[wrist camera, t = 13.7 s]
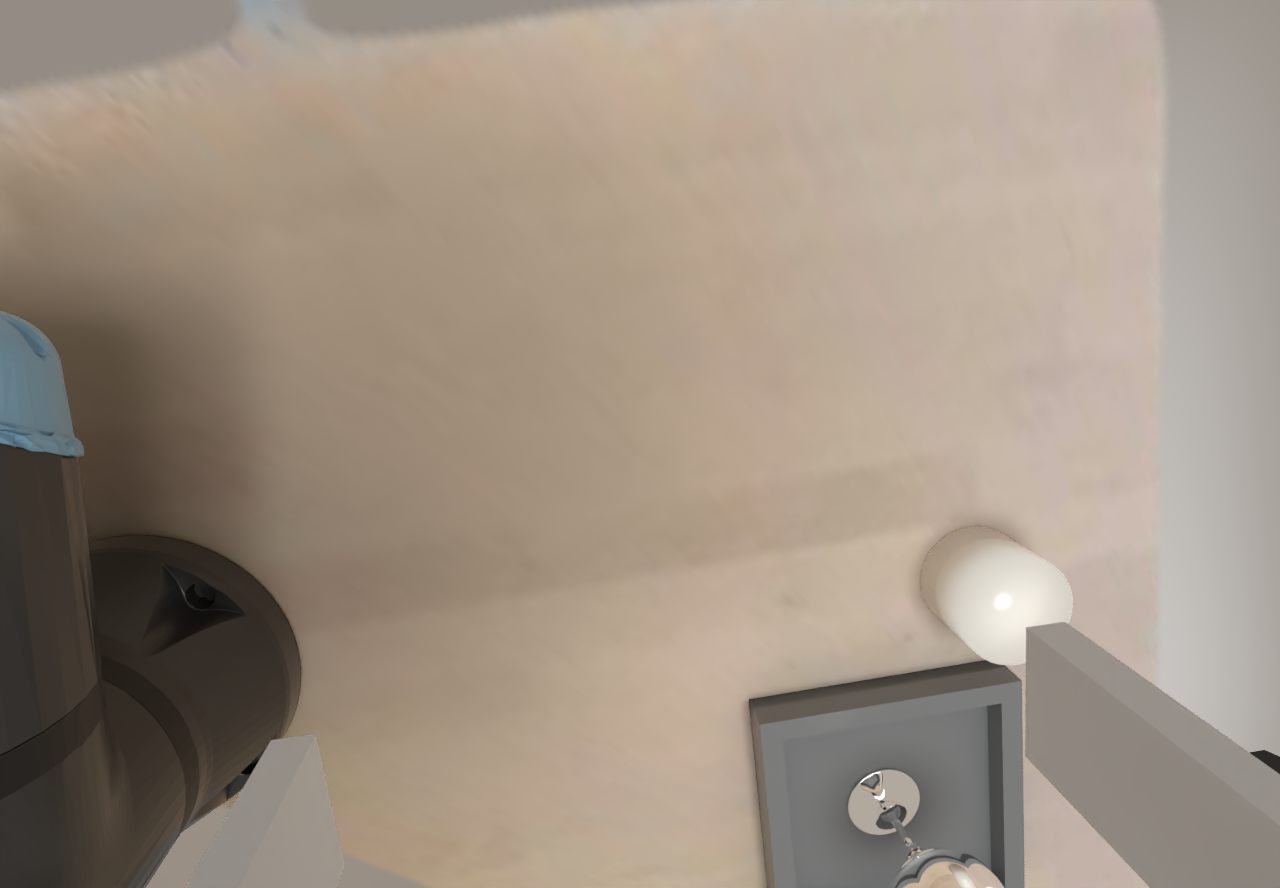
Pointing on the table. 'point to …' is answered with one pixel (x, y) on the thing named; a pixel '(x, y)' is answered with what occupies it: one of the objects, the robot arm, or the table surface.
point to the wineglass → (885, 803)
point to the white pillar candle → (993, 591)
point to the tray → (891, 739)
